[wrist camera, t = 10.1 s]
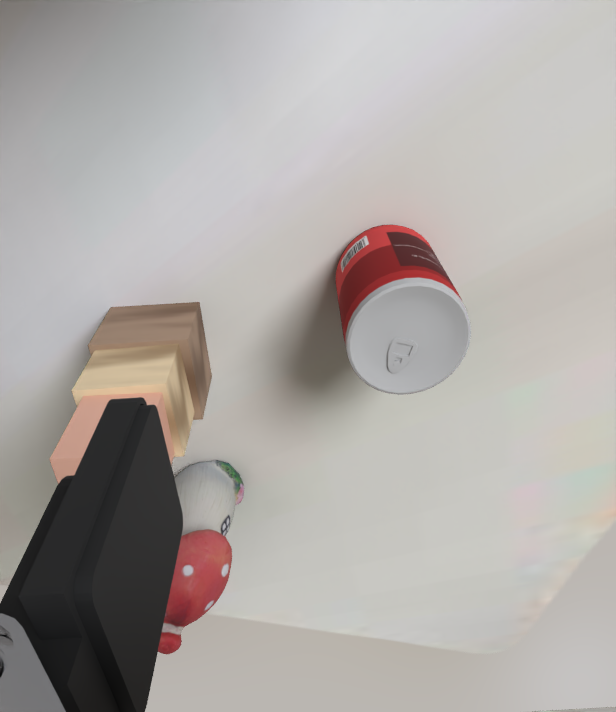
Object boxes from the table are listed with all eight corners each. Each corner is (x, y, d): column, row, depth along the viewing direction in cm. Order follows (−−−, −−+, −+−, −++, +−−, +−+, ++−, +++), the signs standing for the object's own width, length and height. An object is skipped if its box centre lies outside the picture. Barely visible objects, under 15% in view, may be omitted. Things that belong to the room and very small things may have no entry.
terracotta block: (83, 395, 37) (49, 459, 32) (161, 392, 37) (141, 454, 32) (101, 456, 39) (72, 523, 34) (174, 452, 39) (157, 519, 34)
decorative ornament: (199, 526, 59) (173, 673, 46) (146, 494, 56) (103, 639, 43) (261, 476, 55) (252, 619, 42) (208, 439, 53) (182, 579, 40)
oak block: (94, 350, 41) (71, 390, 37) (179, 343, 41) (165, 383, 36) (115, 418, 44) (96, 462, 40) (194, 412, 44) (184, 456, 40)
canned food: (333, 318, 47) (344, 397, 37) (335, 221, 43) (348, 282, 33) (428, 316, 47) (463, 395, 37) (439, 220, 43) (481, 280, 33)
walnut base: (110, 307, 46) (87, 345, 41) (199, 301, 46) (187, 339, 41) (129, 380, 49) (111, 424, 44) (211, 376, 49) (202, 419, 44)
